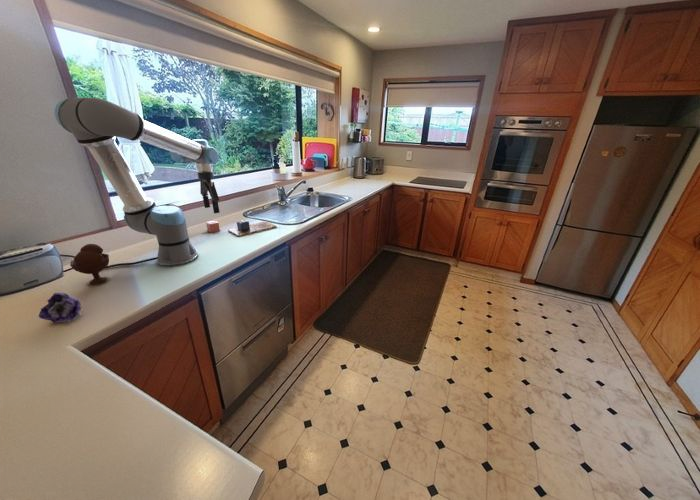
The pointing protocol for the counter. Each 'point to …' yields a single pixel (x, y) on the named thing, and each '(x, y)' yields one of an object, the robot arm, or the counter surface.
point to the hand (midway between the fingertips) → (212, 210)
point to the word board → (253, 228)
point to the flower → (61, 308)
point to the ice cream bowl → (91, 262)
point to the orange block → (212, 226)
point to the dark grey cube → (243, 225)
